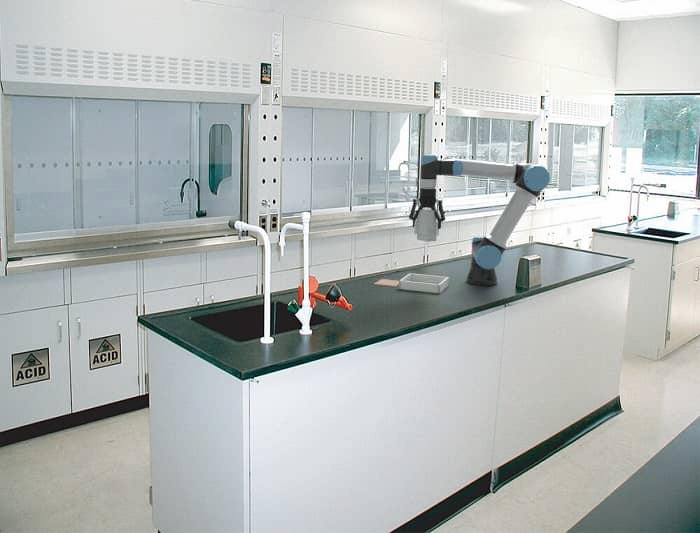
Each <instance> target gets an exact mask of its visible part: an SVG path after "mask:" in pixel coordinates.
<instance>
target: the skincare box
mask: <svg viewBox="0 0 700 533" xmlns="http://www.w3.org/2000/svg"><path fill="white" fill-rule="evenodd" d="M417 211H418V209H417V210H416V212H417ZM416 220H417V234H416V240H417V241H423V242H427V243H429V242H436V241H437V236H436V222H437V219H436V217H435V215H434V210H432V209H431V208H423V209H422V210H420V212H419V214H418V216H417V219H416Z"/></svg>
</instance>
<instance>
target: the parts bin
mask: <svg viewBox="0 0 700 533" xmlns="http://www.w3.org/2000/svg"><path fill="white" fill-rule="evenodd" d="M398 281H399V285H398V290H405V291H407V290H408V291H415V292H424V293H434V294H441V293H442V292H443V291H444V290H445V289H446V288H448V287H449V286H450V277H449V276H443V275H442V276H440V275H432V274H430V275H429V274H422V273H414V272H413V273H410V272H409V273H408V274H407V275H405V276H404V277H402V278H401V279H399V280H398Z"/></svg>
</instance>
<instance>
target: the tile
mask: <svg viewBox="0 0 700 533" xmlns="http://www.w3.org/2000/svg"><path fill="white" fill-rule="evenodd" d="M373 285H374V286H381V287H390V288H391V287H392V288H397V287H399V280H396V279H386V278H385V279H384V278H381V279H379V280H378V281H376V282H375V283H373Z"/></svg>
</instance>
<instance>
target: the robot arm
mask: <svg viewBox="0 0 700 533" xmlns="http://www.w3.org/2000/svg"><path fill="white" fill-rule="evenodd" d="M438 156H439V155H437V154H422V156H421V159H420V160H421V161H420V184H419V185H420V186H419V187H420V189H419V198H416V197H415V198H413V199H412V207H411V210H410V213H409V216H408V219H409V220H412V227H413V228H414V230H413V232H414V233H413V234H414V235H417V216H418V214H419V212H420V210H422V209H431V210H434V215H435V217H436V237H438V236H439V235H440V229H442V222H444V221H446V216H445V212H444V207H443V200H442V199H437V177H438V176H445V177H446V176H453V177H457V176H468V177H476V178H486V179H494V180H502V181H510V184H515V185H514V186H515V192H514V194H512V196H511V198H510V199H509V202H508V203H507V205H506V206H505V208H504V210H503V212H501V214H500V216H499V218H498V219H497V221H496V223H495V224H494V226H493V228H492V230H491V232H490V233H489V234H487V235H484V236H474V237H472V241H471V256H470V268H469V270H468V273H467V275H466V279H465V280H466V283H468V284H470V285H475V286H483V287H484V286H485V287H486V286H488V287H489V286H495V285H498V277H497V273H496V269H495V268H497V267H498V266H499V265H500V263H501V261H502V256H503V255H504V253H505V251H506V249H507V245H506V243H507V241H508V240H509V238H510V237H511V235H512V234H513V232H514V231H515V228H516V226H517V225H518V224H519V222H520V221H521V219H522V217H523V216H524V214H525V212H526V211H527V209H528V207H529V205H530V204H531V203H532V200H535V199H538V197H539V196H540V195H541V192H542V191H543V190H545V189H546V188H547V187H548V185H549V184H550V178H551V177H550V173H549V170H548V169H546V167H545V166H543V165H541V164H540V163H539V164H538V163H534V162H530V163H518V162H514V163H512V164H509V163H508V164H506V163H501V162H500V163H499V162H498V163H497V162H492V161H491V162H489V161H481V160H472V159H471V160H470V159H462V158H453V157H444V158H443V159H440V158H439V157H438ZM418 203H420V205H419V207H418V209H417V208H416V207H417V206H418ZM435 204H437V206H438V210H439V212H438V210H437V208H436V205H435ZM416 209H417V210H418V211H417V210H416ZM415 211H416V212H415Z"/></svg>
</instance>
